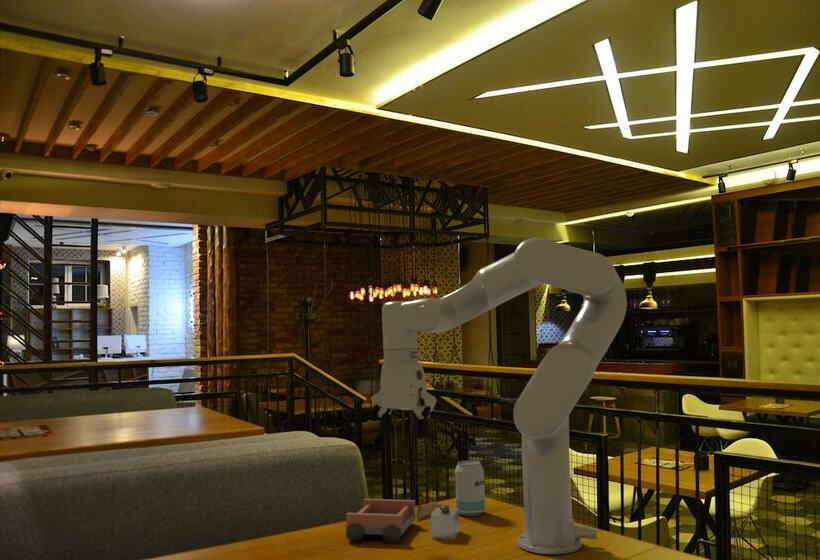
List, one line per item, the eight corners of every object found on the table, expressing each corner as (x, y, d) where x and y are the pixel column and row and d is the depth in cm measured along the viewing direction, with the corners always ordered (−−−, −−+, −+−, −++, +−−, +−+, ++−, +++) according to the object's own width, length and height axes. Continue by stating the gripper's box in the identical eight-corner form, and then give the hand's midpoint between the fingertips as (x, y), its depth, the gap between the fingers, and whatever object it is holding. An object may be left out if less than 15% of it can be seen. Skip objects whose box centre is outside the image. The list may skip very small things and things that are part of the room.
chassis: (416, 523, 151) (415, 499, 152) (400, 544, 137) (399, 517, 137) (366, 521, 154) (365, 497, 155) (345, 541, 140) (344, 515, 140)
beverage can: (477, 519, 154) (475, 466, 155) (451, 515, 157) (449, 464, 158) (490, 511, 160) (488, 461, 161) (464, 508, 163) (462, 458, 164)
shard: (416, 523, 154) (416, 515, 154) (396, 516, 160) (396, 508, 160) (451, 514, 161) (451, 506, 161) (431, 508, 167) (431, 500, 167)
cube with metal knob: (459, 531, 145) (458, 503, 146) (454, 540, 139) (453, 510, 140) (437, 530, 146) (436, 502, 147) (431, 539, 140) (430, 509, 141)
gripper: (442, 355, 144) (446, 435, 143) (381, 357, 155) (384, 431, 153) (422, 357, 138) (426, 441, 137) (360, 358, 149) (362, 436, 147)
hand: (404, 436), depth 145 cm, fingers open, 9 cm apart
